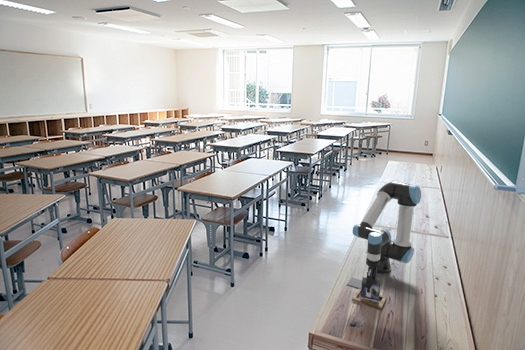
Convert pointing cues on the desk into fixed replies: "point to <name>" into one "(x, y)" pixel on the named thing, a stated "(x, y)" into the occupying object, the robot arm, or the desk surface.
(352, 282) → the mat
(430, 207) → the desk surface
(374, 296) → the small box
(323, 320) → the desk surface
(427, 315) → the desk surface
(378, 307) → the wooden frame
